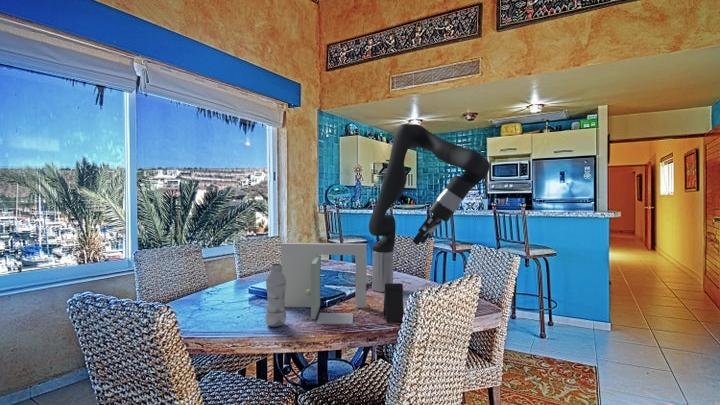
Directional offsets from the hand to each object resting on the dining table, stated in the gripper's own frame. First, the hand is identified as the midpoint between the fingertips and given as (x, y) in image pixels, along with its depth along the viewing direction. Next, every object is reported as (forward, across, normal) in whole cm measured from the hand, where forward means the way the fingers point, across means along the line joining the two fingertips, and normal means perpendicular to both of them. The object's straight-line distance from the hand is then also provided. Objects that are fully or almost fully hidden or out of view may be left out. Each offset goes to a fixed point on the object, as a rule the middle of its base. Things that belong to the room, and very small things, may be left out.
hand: (417, 242), depth 132 cm
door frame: (+41, +8, -11) cm, 43 cm away
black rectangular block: (+26, +1, +9) cm, 28 cm away
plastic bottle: (+47, +23, -17) cm, 55 cm away
